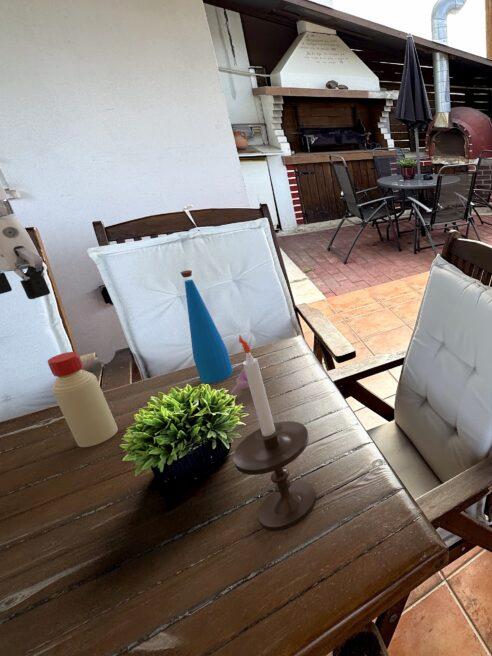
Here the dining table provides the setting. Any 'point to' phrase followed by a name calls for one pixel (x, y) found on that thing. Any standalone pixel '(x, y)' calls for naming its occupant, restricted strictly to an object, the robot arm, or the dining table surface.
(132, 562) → the dining table surface
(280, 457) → the candlestick
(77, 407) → the sauce bottle
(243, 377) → the lily
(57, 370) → the cap
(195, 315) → the bottle
